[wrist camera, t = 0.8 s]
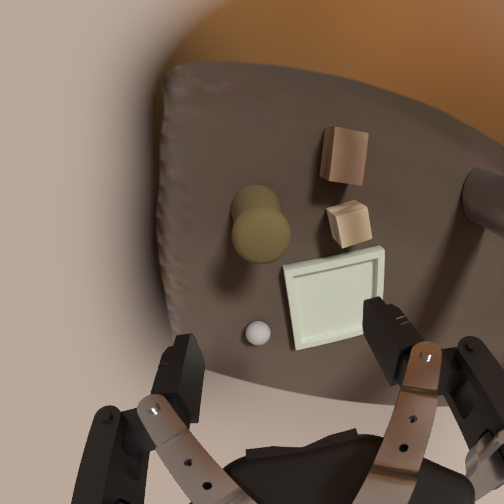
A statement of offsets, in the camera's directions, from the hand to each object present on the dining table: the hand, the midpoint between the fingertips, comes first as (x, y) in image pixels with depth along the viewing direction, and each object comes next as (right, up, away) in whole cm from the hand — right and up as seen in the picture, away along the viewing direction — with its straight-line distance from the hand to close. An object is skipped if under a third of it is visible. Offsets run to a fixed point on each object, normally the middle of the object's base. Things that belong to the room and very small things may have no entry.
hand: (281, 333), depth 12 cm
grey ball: (0, -8, +26) cm, 27 cm away
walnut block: (+9, +15, +18) cm, 26 cm away
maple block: (+10, +8, +21) cm, 25 cm away
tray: (+11, -3, +26) cm, 28 cm away
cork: (-1, +9, +21) cm, 23 cm away
